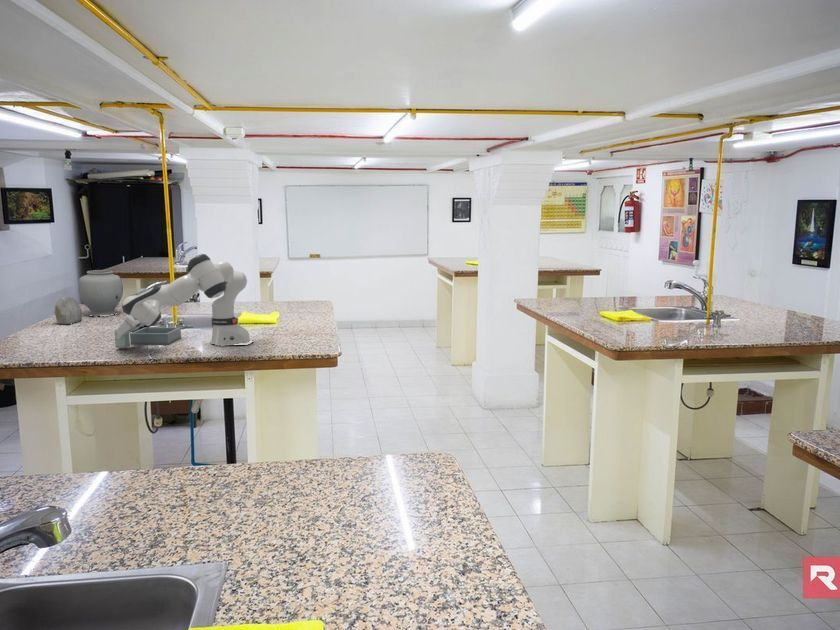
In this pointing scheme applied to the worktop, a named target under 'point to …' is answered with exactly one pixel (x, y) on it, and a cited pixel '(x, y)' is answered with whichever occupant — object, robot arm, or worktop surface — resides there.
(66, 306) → the decorative stone
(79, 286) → the grey ceramic vase
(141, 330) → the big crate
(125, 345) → the pale green block
